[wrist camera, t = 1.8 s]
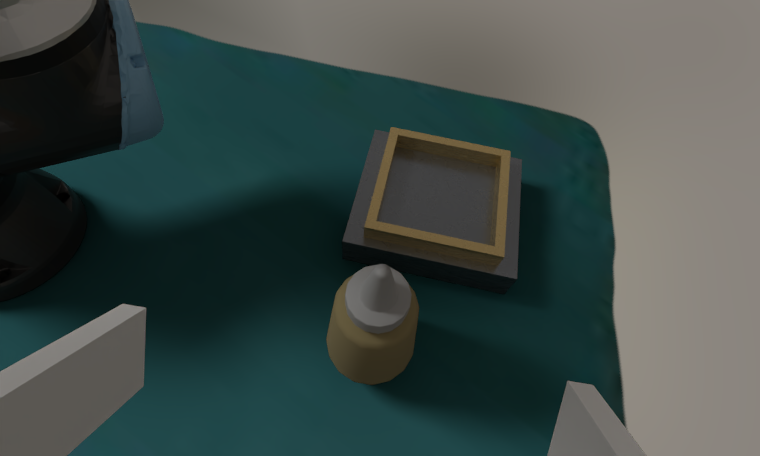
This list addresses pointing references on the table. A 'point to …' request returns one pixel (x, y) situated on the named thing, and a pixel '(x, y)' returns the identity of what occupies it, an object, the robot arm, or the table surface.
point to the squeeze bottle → (373, 325)
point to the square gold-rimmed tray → (437, 210)
